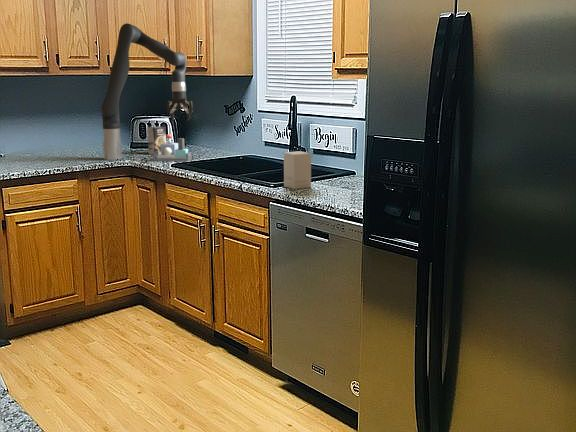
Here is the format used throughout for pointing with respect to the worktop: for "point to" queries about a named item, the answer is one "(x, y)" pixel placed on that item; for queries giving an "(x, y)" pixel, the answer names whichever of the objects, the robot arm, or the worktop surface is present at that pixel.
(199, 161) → the worktop surface
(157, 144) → the coffee box
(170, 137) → the plunger
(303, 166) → the supplement box
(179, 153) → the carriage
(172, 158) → the rail
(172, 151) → the gauge box
